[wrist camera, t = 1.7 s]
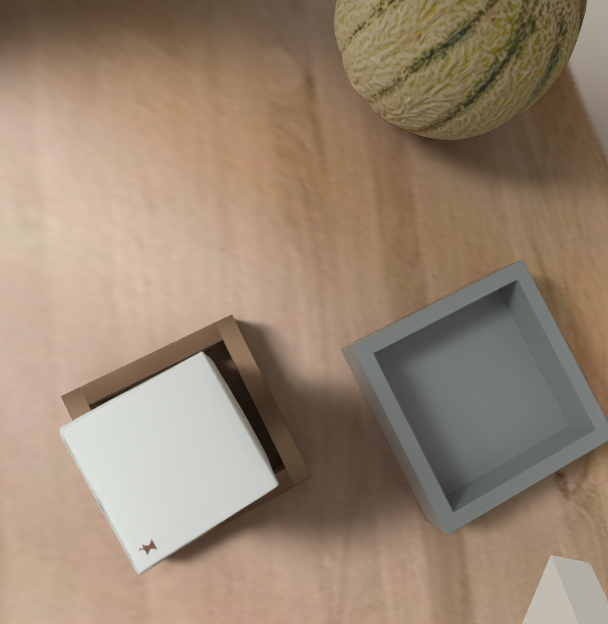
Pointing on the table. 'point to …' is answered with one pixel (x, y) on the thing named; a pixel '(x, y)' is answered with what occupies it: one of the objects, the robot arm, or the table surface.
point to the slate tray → (477, 396)
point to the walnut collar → (230, 334)
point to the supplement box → (169, 459)
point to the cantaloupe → (455, 59)
